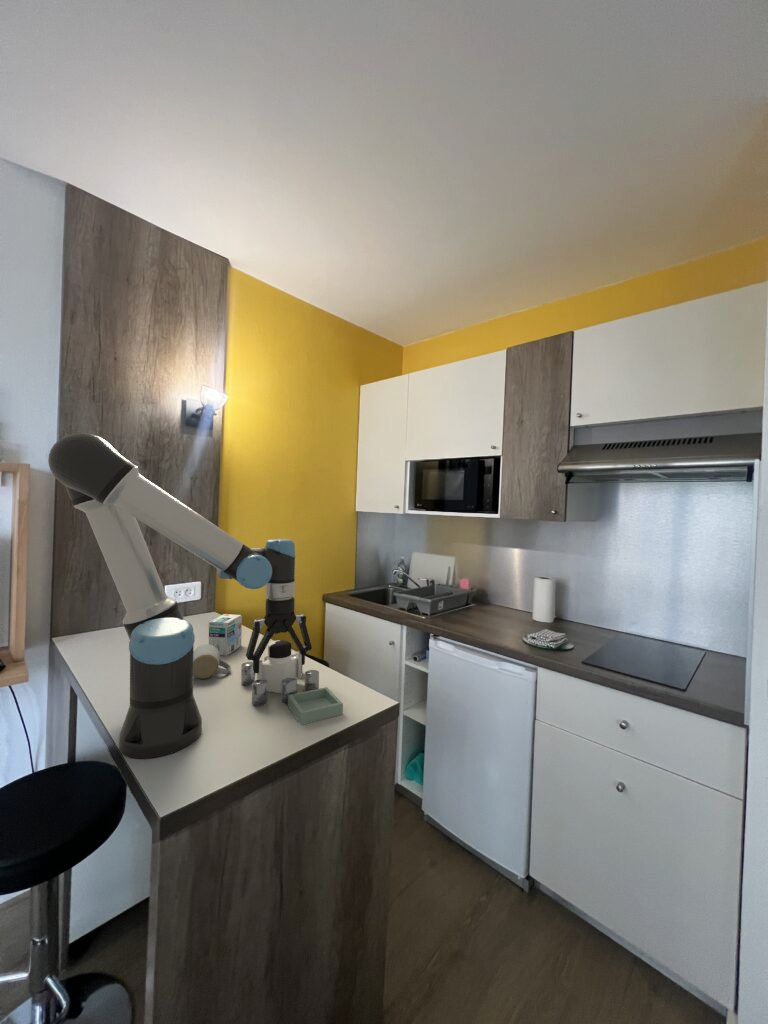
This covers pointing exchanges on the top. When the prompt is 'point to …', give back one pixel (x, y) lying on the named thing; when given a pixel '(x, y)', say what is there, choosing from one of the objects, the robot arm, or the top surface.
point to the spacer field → (287, 684)
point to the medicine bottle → (278, 665)
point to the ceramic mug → (208, 662)
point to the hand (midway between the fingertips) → (279, 680)
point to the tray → (315, 705)
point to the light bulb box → (226, 633)
